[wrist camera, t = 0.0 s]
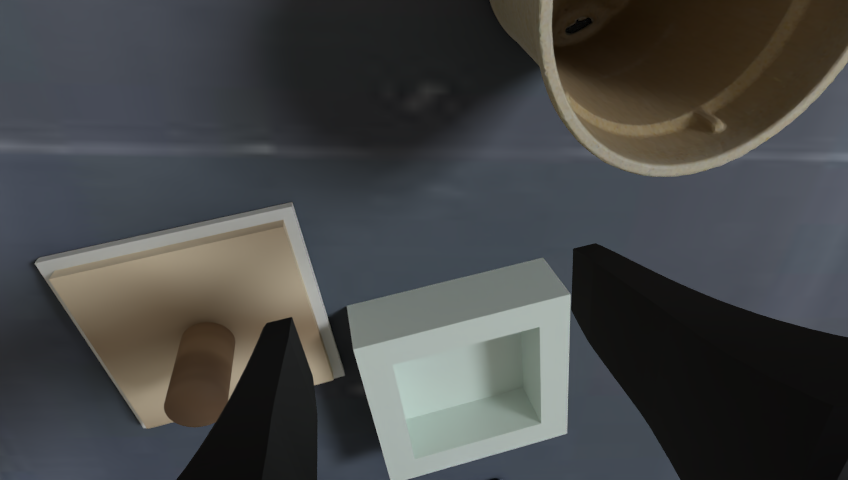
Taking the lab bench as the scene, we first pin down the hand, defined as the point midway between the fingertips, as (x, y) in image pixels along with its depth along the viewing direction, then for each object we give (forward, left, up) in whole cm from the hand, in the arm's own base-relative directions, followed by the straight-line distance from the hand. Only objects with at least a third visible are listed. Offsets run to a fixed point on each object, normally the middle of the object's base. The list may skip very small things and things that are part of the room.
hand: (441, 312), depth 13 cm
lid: (-6, +9, -10) cm, 14 cm away
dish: (-12, -2, -10) cm, 16 cm away
